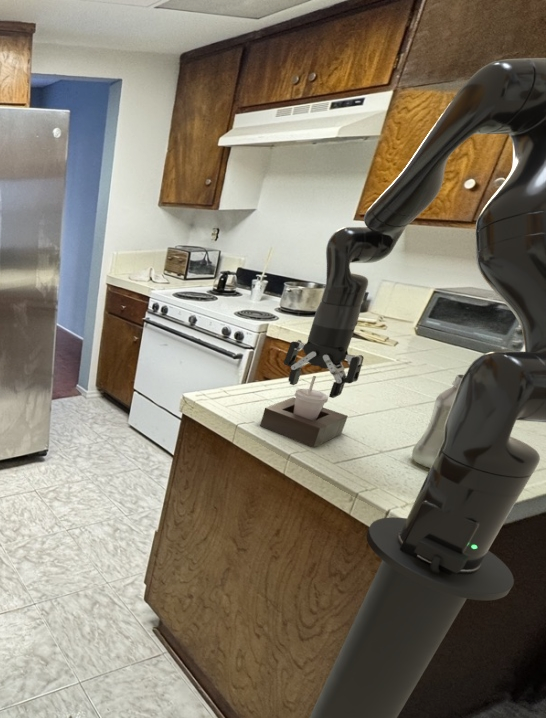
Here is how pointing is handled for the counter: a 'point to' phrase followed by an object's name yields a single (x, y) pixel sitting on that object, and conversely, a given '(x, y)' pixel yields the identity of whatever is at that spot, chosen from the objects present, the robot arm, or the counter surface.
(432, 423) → the plastic bottle
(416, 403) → the counter surface
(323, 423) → the holder
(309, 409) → the smoothie
